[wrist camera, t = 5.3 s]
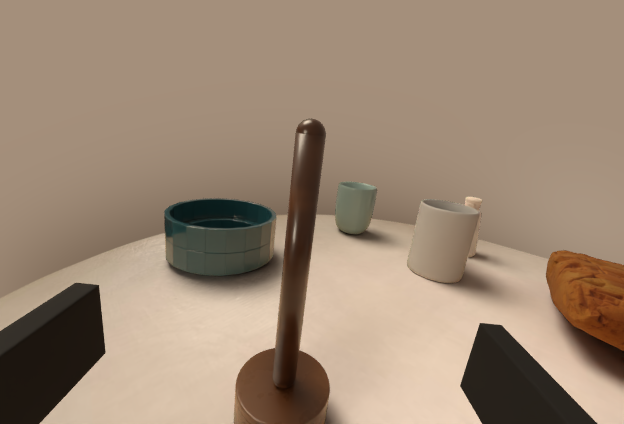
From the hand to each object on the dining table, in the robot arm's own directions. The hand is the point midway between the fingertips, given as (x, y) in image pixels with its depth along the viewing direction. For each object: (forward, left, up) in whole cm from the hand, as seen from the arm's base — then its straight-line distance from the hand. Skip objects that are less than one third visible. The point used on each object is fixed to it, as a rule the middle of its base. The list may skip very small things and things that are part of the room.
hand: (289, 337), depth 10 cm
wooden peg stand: (+1, +7, -13) cm, 15 cm away
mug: (+29, +31, -13) cm, 45 cm away
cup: (+19, +47, -13) cm, 53 cm away
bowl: (-6, +33, -13) cm, 36 cm away
